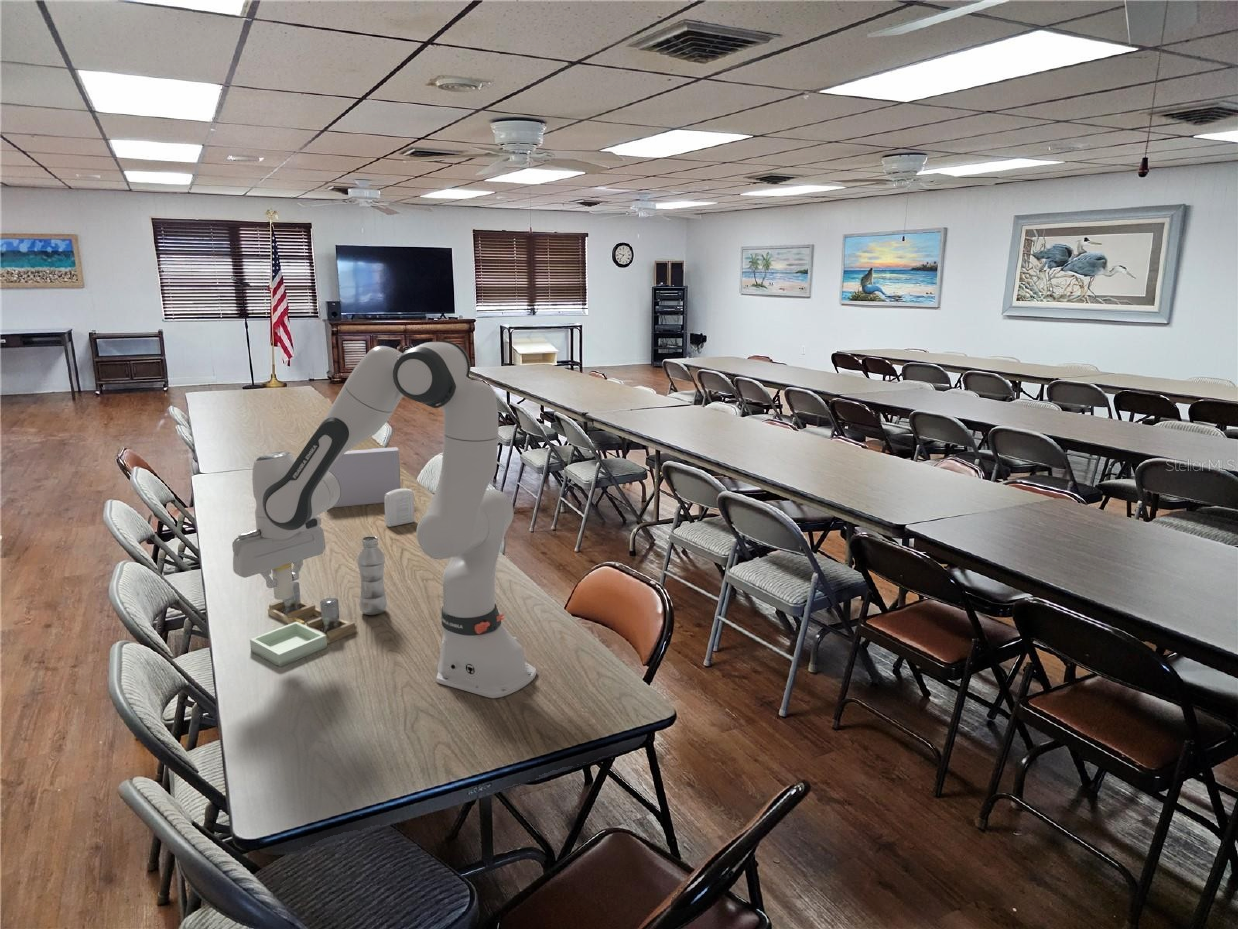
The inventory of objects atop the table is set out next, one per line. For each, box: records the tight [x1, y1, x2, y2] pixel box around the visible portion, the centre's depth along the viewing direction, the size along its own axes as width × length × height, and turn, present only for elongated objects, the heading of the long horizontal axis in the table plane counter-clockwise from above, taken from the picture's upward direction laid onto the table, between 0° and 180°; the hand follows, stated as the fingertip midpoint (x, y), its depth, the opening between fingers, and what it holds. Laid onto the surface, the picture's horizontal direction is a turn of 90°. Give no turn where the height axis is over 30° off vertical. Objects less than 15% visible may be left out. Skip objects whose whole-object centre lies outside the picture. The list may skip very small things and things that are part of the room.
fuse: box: [271, 563, 294, 601], centre depth 169 cm, size 4×4×8 cm
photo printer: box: [384, 487, 416, 528], centre depth 259 cm, size 10×4×12 cm, turn 134°
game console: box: [329, 446, 402, 509], centre depth 281 cm, size 6×27×20 cm, turn 115°
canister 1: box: [283, 581, 302, 616], centre depth 190 cm, size 4×4×8 cm
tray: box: [249, 622, 328, 668], centre depth 173 cm, size 12×12×3 cm
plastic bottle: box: [356, 535, 388, 616], centre depth 190 cm, size 6×7×20 cm
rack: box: [267, 600, 358, 644], centre depth 186 cm, size 25×8×2 cm, turn 55°
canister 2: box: [319, 597, 340, 634], centre depth 181 cm, size 4×4×8 cm
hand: (283, 583), depth 169 cm, fingers closed on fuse, 4 cm apart
